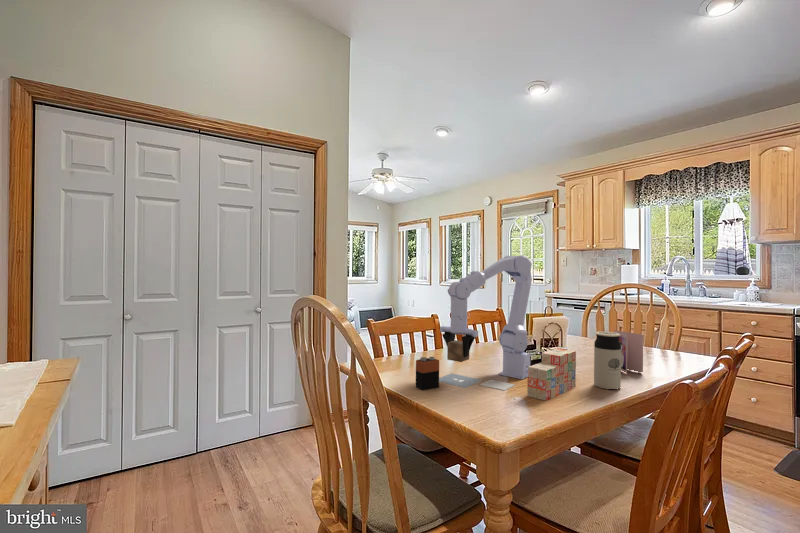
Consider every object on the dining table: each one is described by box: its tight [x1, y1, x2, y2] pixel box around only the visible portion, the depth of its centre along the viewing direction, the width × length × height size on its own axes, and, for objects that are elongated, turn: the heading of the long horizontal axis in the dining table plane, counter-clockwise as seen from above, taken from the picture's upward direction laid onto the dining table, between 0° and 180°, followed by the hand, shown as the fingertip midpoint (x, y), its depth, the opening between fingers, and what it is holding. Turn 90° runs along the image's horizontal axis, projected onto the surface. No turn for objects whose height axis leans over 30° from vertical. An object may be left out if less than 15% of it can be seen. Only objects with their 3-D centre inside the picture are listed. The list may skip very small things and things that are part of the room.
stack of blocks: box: [526, 348, 577, 401], centre depth 130 cm, size 21×6×12 cm, turn 134°
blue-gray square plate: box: [439, 372, 484, 389], centre depth 141 cm, size 13×12×1 cm
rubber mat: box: [479, 379, 516, 392], centre depth 135 cm, size 9×8×1 cm
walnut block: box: [446, 339, 470, 363], centre depth 141 cm, size 6×6×6 cm
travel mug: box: [593, 331, 622, 390], centre depth 135 cm, size 8×8×18 cm
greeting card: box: [614, 330, 644, 374], centre depth 155 cm, size 11×7×15 cm, turn 174°
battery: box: [415, 356, 440, 391], centre depth 132 cm, size 4×7×10 cm, turn 121°
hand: (458, 355), depth 141 cm, fingers closed on walnut block, 5 cm apart
